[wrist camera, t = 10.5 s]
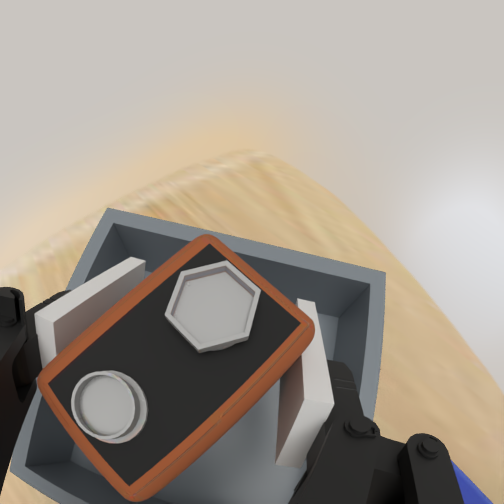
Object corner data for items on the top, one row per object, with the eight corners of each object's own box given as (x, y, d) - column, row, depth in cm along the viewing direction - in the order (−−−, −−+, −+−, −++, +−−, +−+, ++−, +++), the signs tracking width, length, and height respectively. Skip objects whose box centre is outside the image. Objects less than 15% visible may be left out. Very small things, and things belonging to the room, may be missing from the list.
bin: (303, 534, 15) (333, 570, 9) (62, 464, 16) (9, 471, 10) (347, 312, 24) (385, 272, 18) (131, 260, 25) (107, 207, 19)
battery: (274, 377, 15) (339, 312, 7) (182, 466, 13) (120, 523, 4) (214, 321, 17) (205, 201, 8) (123, 404, 14) (6, 368, 5)
